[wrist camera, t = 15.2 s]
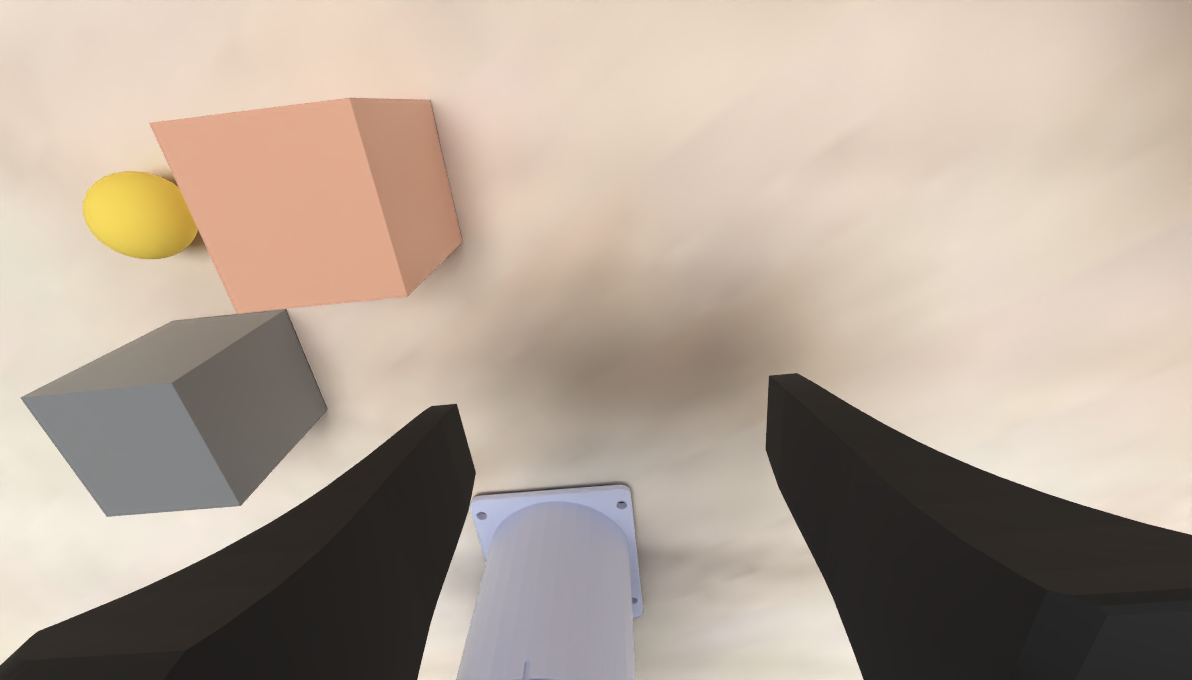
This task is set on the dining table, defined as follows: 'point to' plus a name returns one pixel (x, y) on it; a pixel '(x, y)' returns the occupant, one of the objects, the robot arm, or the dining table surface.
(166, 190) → the ball
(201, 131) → the cover
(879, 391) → the dining table surface
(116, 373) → the cover
